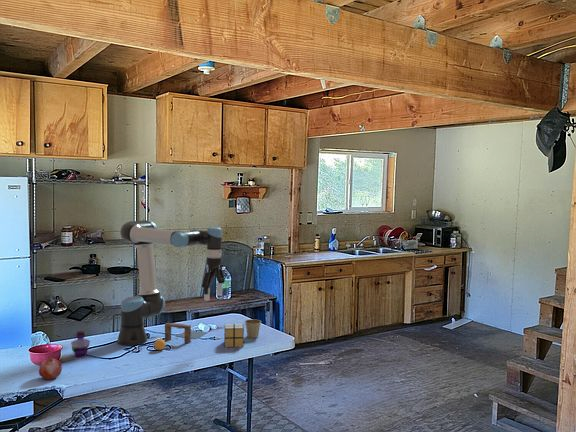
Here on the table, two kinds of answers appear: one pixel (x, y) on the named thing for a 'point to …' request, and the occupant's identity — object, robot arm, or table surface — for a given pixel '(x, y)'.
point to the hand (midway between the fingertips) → (213, 297)
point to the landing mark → (193, 334)
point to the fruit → (50, 368)
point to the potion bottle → (80, 344)
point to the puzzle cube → (234, 335)
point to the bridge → (186, 327)
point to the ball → (159, 344)
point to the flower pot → (252, 327)
